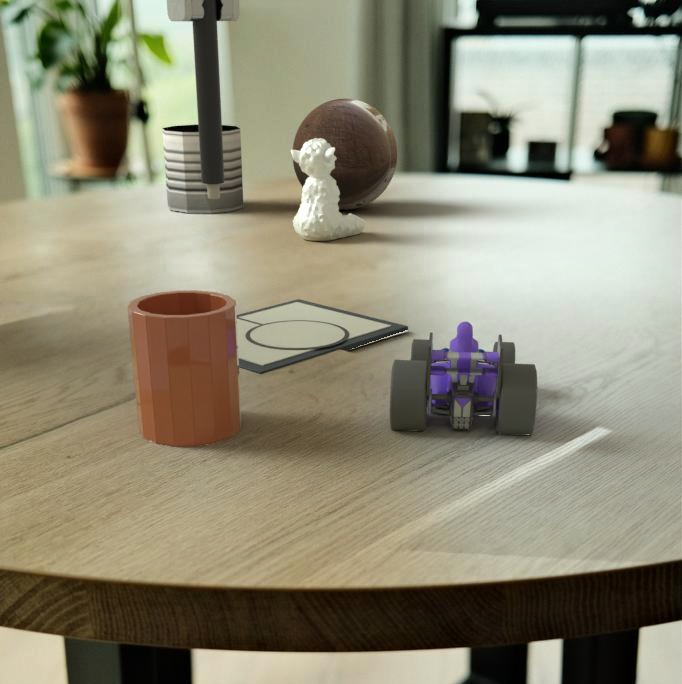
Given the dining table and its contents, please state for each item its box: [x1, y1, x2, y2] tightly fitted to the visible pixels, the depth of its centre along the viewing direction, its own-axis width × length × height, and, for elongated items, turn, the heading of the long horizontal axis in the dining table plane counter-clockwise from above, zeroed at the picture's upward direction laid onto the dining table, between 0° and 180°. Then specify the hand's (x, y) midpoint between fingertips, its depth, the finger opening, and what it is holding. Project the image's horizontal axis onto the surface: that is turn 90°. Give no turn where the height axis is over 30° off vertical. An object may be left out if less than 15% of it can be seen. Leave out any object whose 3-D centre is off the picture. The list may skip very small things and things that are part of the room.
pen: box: [192, 0, 224, 199], centre depth 64 cm, size 2×2×14 cm
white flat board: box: [237, 298, 409, 375], centre depth 89 cm, size 14×18×1 cm
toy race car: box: [389, 321, 538, 435], centre depth 73 cm, size 10×15×6 cm, turn 174°
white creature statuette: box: [290, 138, 366, 242], centre depth 128 cm, size 10×9×12 cm
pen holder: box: [127, 289, 242, 448], centre depth 67 cm, size 7×7×9 cm
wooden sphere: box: [292, 98, 398, 211], centre depth 146 cm, size 15×15×15 cm
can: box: [161, 123, 244, 215], centre depth 148 cm, size 11×11×12 cm
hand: (204, 21), depth 63 cm, fingers closed on pen, 1 cm apart
